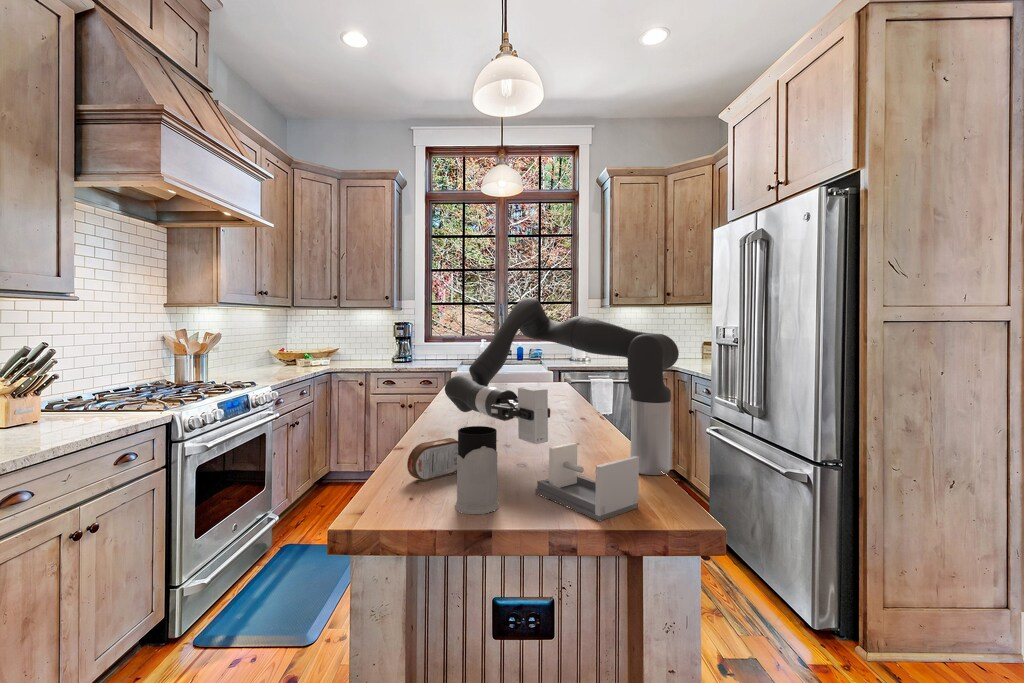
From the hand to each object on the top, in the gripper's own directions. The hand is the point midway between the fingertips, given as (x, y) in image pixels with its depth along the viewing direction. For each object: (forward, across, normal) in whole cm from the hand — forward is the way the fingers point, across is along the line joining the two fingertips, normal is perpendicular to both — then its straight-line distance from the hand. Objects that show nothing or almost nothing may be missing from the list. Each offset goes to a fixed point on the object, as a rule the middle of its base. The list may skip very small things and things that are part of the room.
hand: (540, 414), depth 111 cm
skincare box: (-3, 0, +7) cm, 7 cm away
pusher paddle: (+10, 0, +14) cm, 17 cm away
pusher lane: (+14, 0, +15) cm, 21 cm away
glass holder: (+1, -18, +16) cm, 24 cm away
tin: (-17, -17, +16) cm, 28 cm away
